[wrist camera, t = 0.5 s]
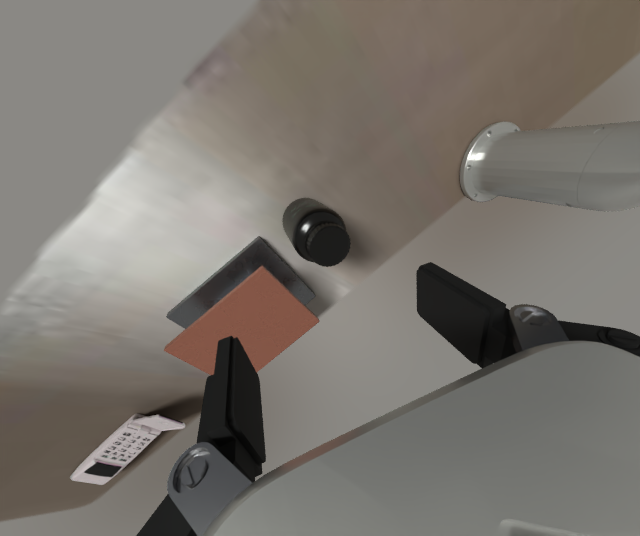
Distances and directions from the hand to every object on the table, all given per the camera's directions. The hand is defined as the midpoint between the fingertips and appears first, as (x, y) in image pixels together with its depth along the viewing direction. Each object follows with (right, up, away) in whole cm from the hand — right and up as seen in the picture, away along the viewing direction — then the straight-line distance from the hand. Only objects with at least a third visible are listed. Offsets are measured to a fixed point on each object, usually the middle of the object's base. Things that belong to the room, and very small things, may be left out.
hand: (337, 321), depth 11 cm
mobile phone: (-36, -28, +32) cm, 55 cm away
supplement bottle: (-3, +10, +24) cm, 26 cm away
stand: (-13, -3, +27) cm, 30 cm away
